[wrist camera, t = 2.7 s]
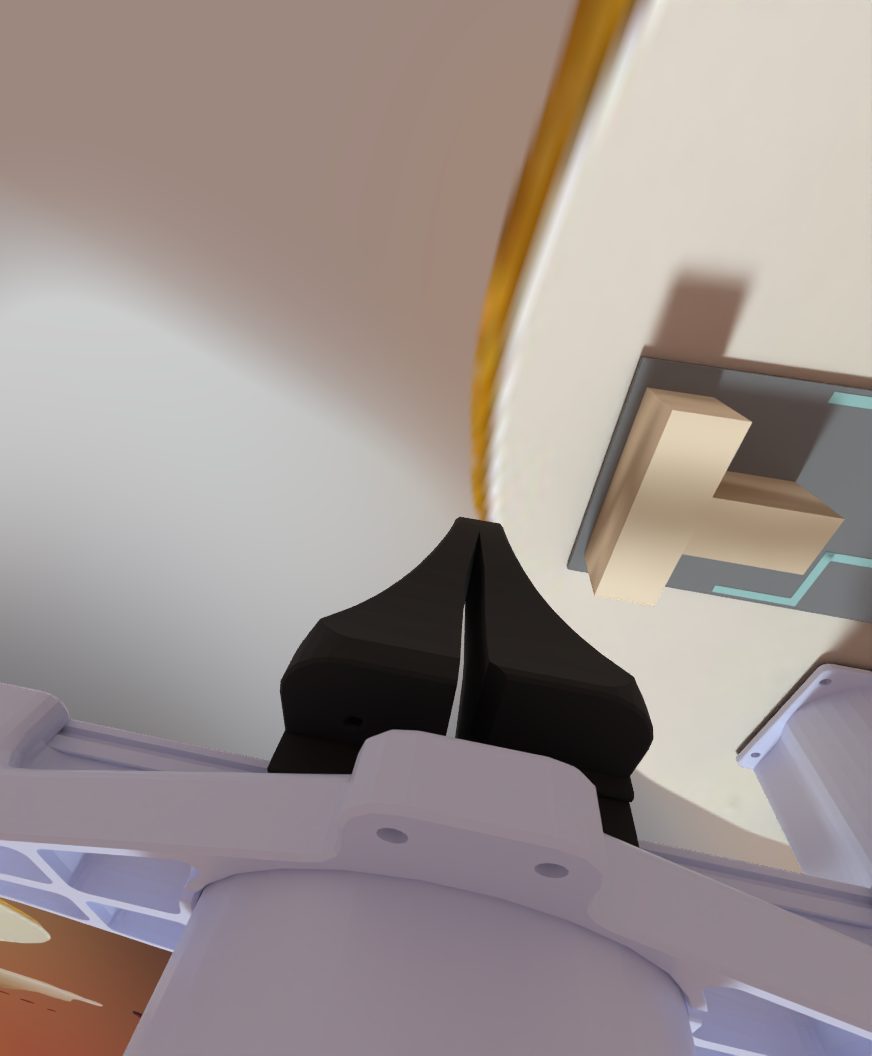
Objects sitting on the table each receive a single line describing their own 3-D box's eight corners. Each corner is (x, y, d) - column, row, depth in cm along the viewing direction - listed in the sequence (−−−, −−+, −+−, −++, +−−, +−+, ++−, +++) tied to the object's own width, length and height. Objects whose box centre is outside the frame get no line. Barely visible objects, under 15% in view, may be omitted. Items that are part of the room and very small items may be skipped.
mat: (889, 622, 20) (894, 627, 20) (567, 565, 21) (567, 569, 21) (1086, 420, 15) (1096, 423, 15) (641, 356, 16) (643, 358, 16)
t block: (732, 580, 20) (764, 626, 17) (583, 554, 20) (594, 595, 18) (837, 415, 16) (900, 444, 13) (646, 387, 16) (672, 409, 14)
